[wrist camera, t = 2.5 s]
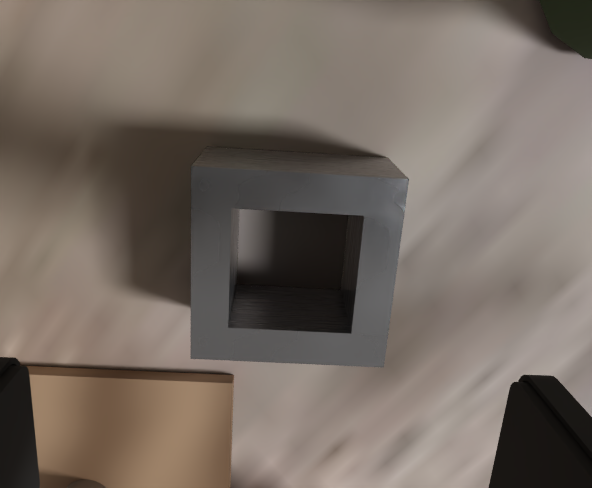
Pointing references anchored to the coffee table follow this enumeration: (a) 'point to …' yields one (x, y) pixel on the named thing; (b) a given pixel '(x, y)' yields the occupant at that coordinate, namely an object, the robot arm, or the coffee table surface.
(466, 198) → the coffee table surface
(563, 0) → the character mug
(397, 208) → the link
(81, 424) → the tan piece
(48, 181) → the coffee table surface
